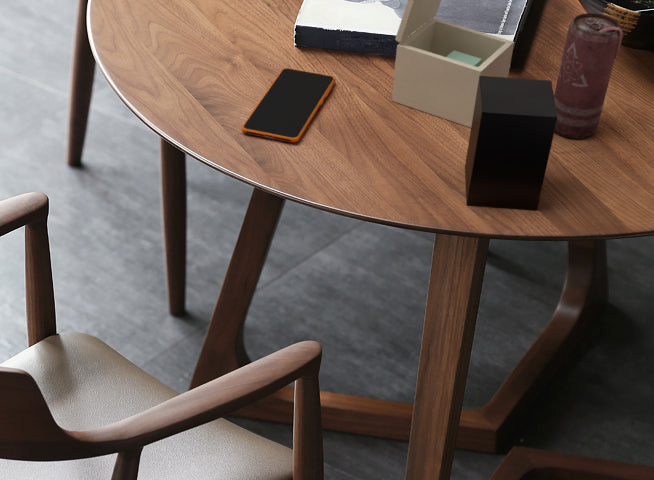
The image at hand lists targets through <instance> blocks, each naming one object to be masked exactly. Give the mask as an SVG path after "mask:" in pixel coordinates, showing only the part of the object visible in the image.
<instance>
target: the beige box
mask: <svg viewBox="0 0 654 480" xmlns="http://www.w3.org/2000/svg"><path fill="white" fill-rule="evenodd" d="M514 46H515V41H513V40H509V39H506V38H503V37H499V36H496V35H494V34H493V35H492V34H491V33H490V34H489V33H486V32H483V31H479V30H476V29H472V28H469V27H466V26H464V25H463V26H462V25H460V24H456V23H453V22H449V21H446V20H442V19H439V18H436V17H433V18H432V19H430V20H429V21H428V22H426V23H425V24H424V25H423V26H421V27H420V28H419V29H417V30H416V31H415V32H413V33H412V34H411V35H410V36H408V37H407V38H406V39H404V40H403V41H402V42H401V43H399V42H398V44H397V45H396V53H395V54H396V55H395V63H394V75H393V83H392V84H393V85H392V94H391V95H392V96H391V102H393V103H397V104H399V105H402V106H405V107H408V108H411V109H414V110H417V111H420V112H423V113H425V114H429V115H432V116H434V117H438V118H441V119H444V120H447V121H450V122H453V123H454V124H458V125H462V126H464V127H467V128H470V129H471V126H472V119H473V113H474V107H475V101H476V94H477V88H478V82H479V76H490V77H505V78H509V73H510V69H511V62H512V57H513V50H514ZM453 51H458V52H461V53H464V54H467V55H471V56H474V57H477V58H480V59H482V61H481V65H480V66H479V67H475V66H472V65H469V64H466V63H463V62H460V61H456V60H453V59H450V58H447V56H448V55H449V54H450V53H451V52H453Z"/></svg>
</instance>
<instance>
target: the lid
mask: <svg viewBox="0 0 654 480" xmlns="http://www.w3.org/2000/svg"><path fill="white" fill-rule="evenodd" d="M441 2H442V0H407V2H406V4H405V8H404V11H403V14H402V18H401V20H400V24H399V27H398V30H397V32H396V36H395V39H394V40H395V41H396V42H398V44H399V43H401V42H402V41H403V40H405V39H406V38H407V37H408V36H410V35H411V34H412V33H414V32H415V31H416V30H418V29H419V28H420V27H421V26H423V25H424V24H425V23H427V22H428V21H429V20H431V19H432V18H435V17H436V16H437V14H438V10H439V8H440V4H441Z"/></svg>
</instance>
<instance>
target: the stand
mask: <svg viewBox="0 0 654 480" xmlns="http://www.w3.org/2000/svg"><path fill="white" fill-rule="evenodd" d="M556 122H557V111H556V105H555V100H554V89H553V83H552V80H547V79H535V78H520V77H519V78H517V77H508V78H505V77H490V76H479V82H478V88H477V94H476V101H475V107H474V113H473V119H472V126H471V128H470V132H469V139H468V145H467V151H466V158H465V163H464V177H465V178H464V179H465V195H466V196H465V200H466V206H471V207H472V206H474V207H485V208H500V209H513V210H528V211H538V208H539V203H540V199H541V195H542V190H543V185H544V180H545V177H546V176H545V175H546V172H547V166H548V164H549V163H548V162H549V158H550V154H551V149H552V148H551V147H552V144H553V140H554V135H555V132H554V131H555V126H556Z"/></svg>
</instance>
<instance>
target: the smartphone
mask: <svg viewBox="0 0 654 480" xmlns="http://www.w3.org/2000/svg"><path fill="white" fill-rule="evenodd" d="M335 82H336V78H335V77H334V76H333V75H327V74H322V73H317V72H311V71H305V70H299V69H294V68H289V67H285V68H282V69H281V70H280V72H279V73H278V74H277V76H276V78H275V79H274V80H273V82H272V83H271V84H270V85H269V88H268V89H267V91H266V92H265V93H264V95H263V96H262V97H261V99H260V101H259V102H258V104H257V105H256V106H255V107H254V109H253V110H252V112H251V113H250V115H249V116H248V117H247V119H246V120H245V121H244V123H243V125H242V126H241V132H243V134H247V135H253V136H257V137H263V138H267V139H273V140H277V141H282V142H288V143H297V142H299V140H301V138H302V136H303V134H304V133H305V131H306V129H307V128H308V126H309V125H310V124H311V121H312V120H313V118H314V116H315V115H316V113H317V111H318V110H319V108H320V106H322V105H323V104H324V101H325V99H326V98H327V97H328V95H329V93H330V92H331V90H332V89H333V86H334V84H335Z"/></svg>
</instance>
